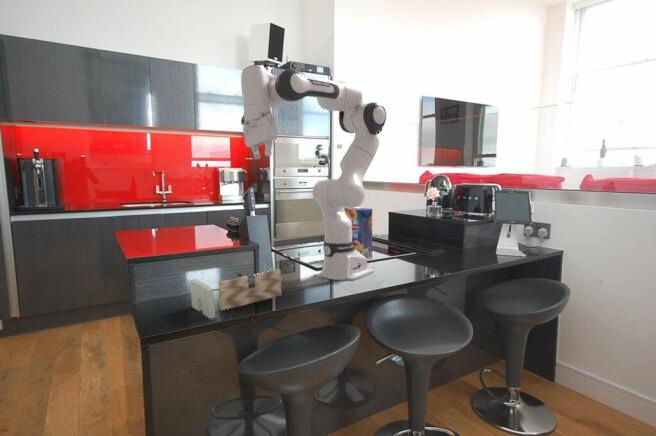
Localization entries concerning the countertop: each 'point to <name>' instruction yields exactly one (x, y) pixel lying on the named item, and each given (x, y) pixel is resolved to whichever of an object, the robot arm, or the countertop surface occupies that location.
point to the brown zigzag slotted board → (249, 289)
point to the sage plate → (202, 298)
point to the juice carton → (361, 229)
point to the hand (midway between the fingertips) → (262, 157)
